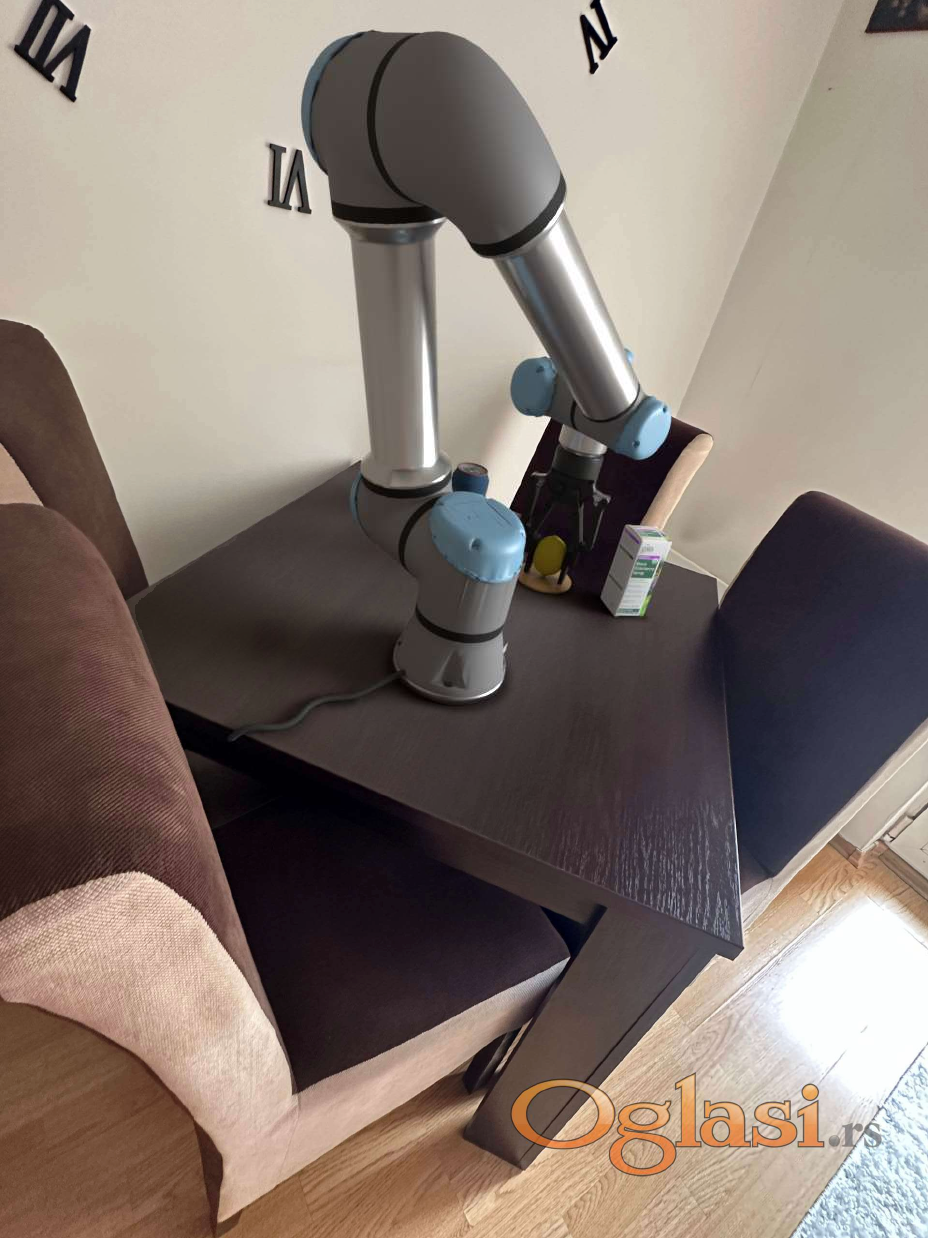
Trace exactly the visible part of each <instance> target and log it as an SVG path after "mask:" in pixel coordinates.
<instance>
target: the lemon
mask: <svg viewBox="0 0 928 1238" xmlns="http://www.w3.org/2000/svg"><path fill="white" fill-rule="evenodd" d="M566 552H567V547H566V544H565V542H564V541H563V540H562V539H561V538H560V537H559V536H558V535H549V536H546V537H543V538H542V539H541V540H539V543H538V545H537V547H536V549H535V552H534V555H533V563H534V566H535V568H536V570H537V571H538V572H539V573H541V574H542V576H544V577H546V576H549V575H554V574H556V573H557V572H559V571H560V570H561V569H562V565H563V562H564V559H565V556H566Z"/></svg>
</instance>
